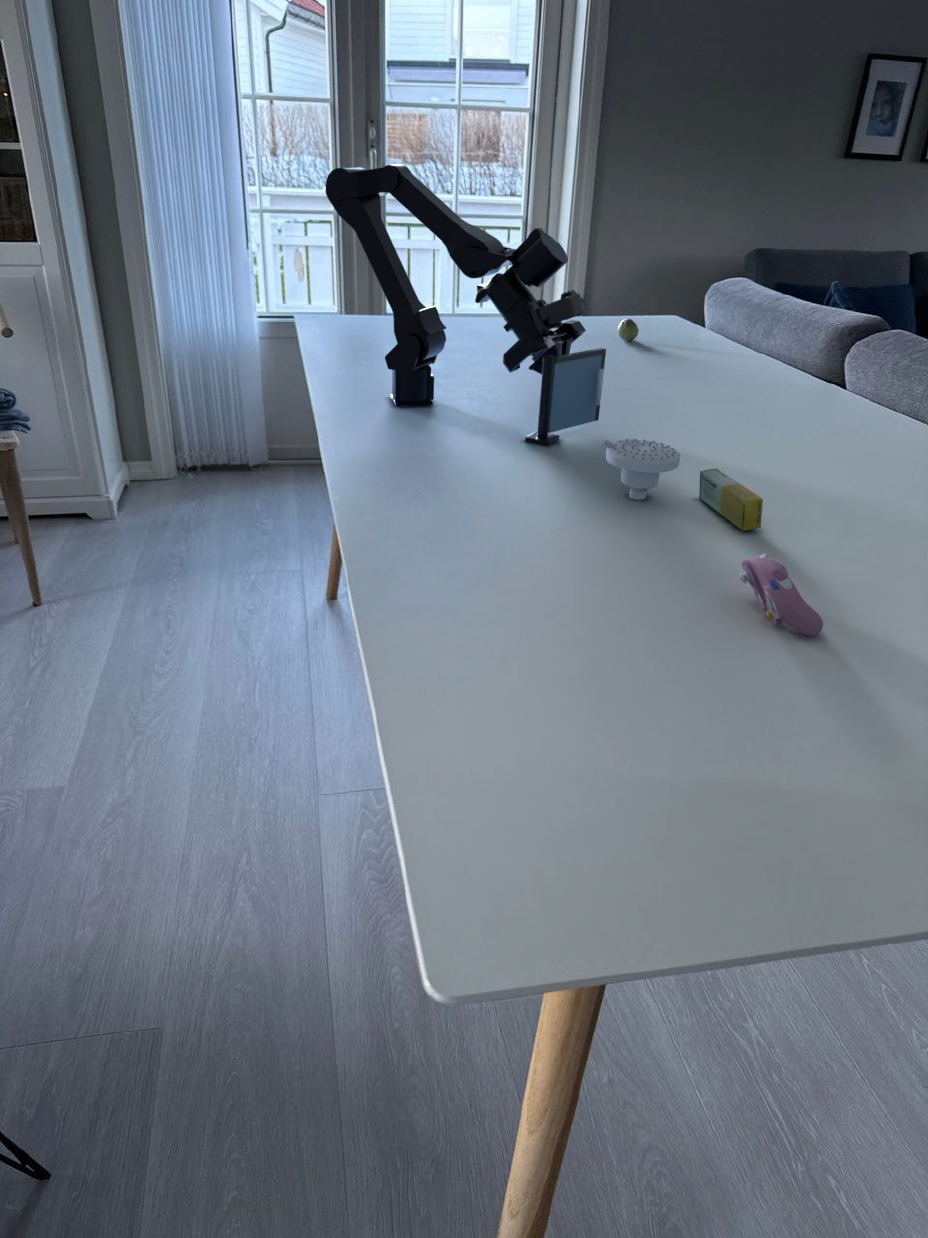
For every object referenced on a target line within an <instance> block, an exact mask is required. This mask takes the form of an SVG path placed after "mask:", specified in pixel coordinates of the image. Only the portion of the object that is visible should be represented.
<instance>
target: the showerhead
mask: <svg viewBox="0 0 928 1238" xmlns="http://www.w3.org/2000/svg"><path fill="white" fill-rule="evenodd" d="M602 445H604V446H605V447H606V452H605V459H606V461H607V463H608V464H610V465H612V466H613V467H615V468H618V469H621V475H620V481H621V483H622V484H624V486H626V487H628V488H629V492H628V493H629V494H628V498H630V499H633V500H635V501H642V500H645V499H646V497H647V491H648V490H649V489H653V488H656V487H657V486H658V485H659V480H660V474H662V473H666V472H667V473H668V472H672V471H674V470H676V469H677V468H678V467H679V465H680V460H681V452H680V451H678V450H677V449H676V448H674V447H672V446H671V445H670V444H664V442H656V441H655V440H652V441H650V440H647V439H642V440H641V439H640V440H639V439H637V438H634V439H630V440H629V439H628V438H627V439H625V440H618V441H615V442H612V441H610V440H608V439H605V440H604V441H603V442H602Z"/></svg>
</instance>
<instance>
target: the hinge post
mask: <svg viewBox="0 0 928 1238" xmlns="http://www.w3.org/2000/svg"><path fill="white" fill-rule="evenodd" d="M553 366H554V356H553V355H544V356H543V369H542V374H541V384H540V395H539V410H538V423H537V430H536V431H533V432H532V433H530V434H529V435H527V436H525V437H524V442H525V443H529V444H534V445H538V446H543V447H546V448H547V447H548V448H549V447H550V446H552V445H554V444H556V443H557V442H559V441H560V435H558V434H553V433H548V427H549V414H550V402H551V390H552V378H553Z"/></svg>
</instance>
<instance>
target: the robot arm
mask: <svg viewBox="0 0 928 1238" xmlns="http://www.w3.org/2000/svg"><path fill="white" fill-rule="evenodd" d="M324 192H325V195H326V198H327V201H329V203H330V204H331V206H332V207H333V209H334V211H335V212H336V214H337V215H338V216H339V217H340V218H341V219H342V220H343V221H344V222H345V223H346V224H347V225H348V226H349V227H350V228H351V229H353V231H354V233H355V234H356V237H357V240H358V241H359V243H360V245H361V248H362V249H363V251H364V253H365V256H366V259H367V260H368V262H369V264H370V267H371V269H372V271H373V273H374V276H375V277H376V279H377V281H378V284H379V285H380V288H381V290H382V293H383V294H384V297H385V298H386V301H387V303H388V306H389V307H390V310H391V311H392V315H393V317H392V318H393V333H394V337H395V341H396V344H395V346H394V347H393V348H392V349H391V350H389V352H388V353H387V354H386V355H385V356H384V360H385V364H386V367H387V369H388V370H391V394H390V395H389V398H390V400H391V401H392V403H393V404H394V406H395V407H399V408H402V407H404V408H405V407H406V408H407V407H433V406H434V401H433V400H434V399H435V376H434V375H433V374H432V367H431V366H430V365H434V364H435V363H436V361H437V357H438V355H439V354H440V353H442V352H443V350H444V349H445V346H446V342H447V335H446V332H445V330H446V329H447V326H446V325H445V324H444V323H443V322H442V320H441V317H440V314H439V311H438V308H437V306H436V305H433V306H429V307H426V306H425V305H424V304H423V303H422V302H421V300H420V299H419V297H418V295H417V293H416V291H415V288H414V286H413V284H412V282H411V280H410V278H409V275H408V273H407V271H406V270H405V269H406V268H405V267H404V265H403V262H402V260H401V258H400V256H399V254H398V252H397V249H396V247H395V245H394V243H393V241H392V239H391V237H390V234H389V232H388V231H387V228H386V226H385V224H384V221H383V219H382V209H381V208H382V206H381V205H382V204H381V203H382V202H381V201H382V200H381V196H385V195H391V196H392V197H393V198H394V199H395V200H396V201H398V203H399V204H401V205H402V206H403V207H404V208H405V209H406V210H407V211H408V212H409V213H410V214H412V215H413V216H414V217H415V218H416V219H417V220H418V221H419V222H420V223H422V225H424V226H425V227H426V228H427V229H428V230H429V231H430V232H431V233H432V234H434V236H436V237H437V239H439V240H440V241H441V242H442V244H443V245H444V247H445V248H446V251H447V253H448V255H449V257H450V259H451V260H452V262H454V264H455V265H456V267H457V268H458V269H459V270H460V272H461V273H462V274H463V275H464V276H465V277H467V278H469V279H480V278H485V277H489V276H492V275H493V276H492V277H491V278H490V280H488V282H486V283H480V284H477V285H476V294H475V297H474V303H476V304H482V303H487V302H489V301H490V302H491V303H492V304H493V306H494V307H495V309H496V310H497V312H498V313H499V314H500V316H501V317H502V318H503V320H504V322H505V324H504V325H503V329H504V330H505V332H506V333H508V332H511V331H512V333H513V334H514V335H515V337H516V338H517V341H516V342H515V343H514V344H513V345H512V346H511V347H509V349H507V350H506V351H505V352H504V353H503V356H502V364H503V366H504V367H505V368H506V370H507V371H508V372H509V373H511V374H512V373H513V372H515V371H516V372H517V371H518V370H519V369H520V368H521V364H522V363H523V362H524V361H525V360H526V359H528V358H529V357H532V358H531V360H532V363H531V364H530V366H528V370H529V371H534V372H535V373H538V374H539V375H542V369H543V356H544V355H553V356H554V357H555V356H560V355H566V354H571V347H572V344H573V343H574V342H575V341H577V340H578V339H579V338H580V337H581V336H582V335H583V334H584V333H586V331H587V330H586V328H585V327H584V326H583V324H582V323H581V321H580V320H574V319H573V318H575V317H580V316H582V315H585V312H584V309H583V308H584V307H583V305H584V304H585V299H584V298H583V297H582V296H581V294H580V293H578V292H576V291H575V289H570V290H568V291H566V292H563V293H561V294H560V299H557V300H555V301H552V302H550V303H547V302H546V300H544V299H541V298H540V299H536V297H535V296H534V295H533V293H532V292H531V290H530V288H532V287H535V288H542V287H543V286H544V285H545V284H546V283H547V282H548V281H549V280H550V279H551V278H552V277H553V276H555V274H556V273H558V272H559V271H560V270H561V269H562V268H563V267H564V266H565V265H566V264H567V263H568V262H569V258H568V254H567V253H566V251H565V249H564V248H563V246H562V244H560V242H558V241H557V240H555V239H554V238H553V237H552V236H551V235H549V234H548V233H546V232H545V231H544V229H543V228H542V227H535V228H534V229H533V230H532V231H531V232H530V233H529V234H528V236H527V237H526V239H525V240H524V241H523V242H522V243H521V244H520V245H519V246H518V247H517V248H512V247H508V246H504V245H503V244H502V242H501V240H499V239H498V238H497V237H495V236H494V235H492V234H490V233H489V232H487V231H486V230H484V229H482V228H480V227H477V226H475V225H473V224H471V223H469V222H467V221H466V220H464V219H462V218H461V217H460V216H459V215H458V214H457V213H456V212H455V211H454V210H453V209H451V208H450V207H449V206H448V205H447V204H446V203H445V202H444V201H443V200H441V198H439V197H438V196H437V195H436V194H435V193H434V192H433V191H432V190H431V189H430V188H428V187H427V186H426V185H425V184H424V183H423V182H422V181H421V180H420V179H418V178H417V177H416V176H415V175H414V174H413V173H412V171H411V170H410V168H409V167H408V166H406V165H404V164H386V165H384V166H383V167H377V168H371V169H370V168H369V169H366V168H363V167H336V168H334V169H332V170H331V171H330V172H329V173H328V175H327V177H326V181H325V185H324ZM509 266H510V267H509ZM505 267H509V268H507V270H506V271H505V272H503V273H501V272H499V271H500V270H501V269H503V268H505ZM570 319H571V320H570ZM567 320H569V321H567ZM563 321H565V322H563Z"/></svg>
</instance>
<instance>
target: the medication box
mask: <svg viewBox="0 0 928 1238" xmlns="http://www.w3.org/2000/svg"><path fill="white" fill-rule="evenodd" d="M698 498H699V500H701V501H703V502H704V503H705V504H707V505H708V506H710V507H711V508H712V509H713V510H715V511H716V512H717V513H719V514H720V515H721V516H723V517H724V518H725V519H726V520H727V521H729V522H731V524H733V525H734V526H736V527H737V528H738V529H739V530H740V531H742V532H745V531H751V530H757V529H761V528H762V516H763V503H764V499H763V498H762V497H761V496H759V495H757V494H756V493H755V492H753V491H752V490H750V489H749V488H747V487H745V486H744V485H743V484H741V483H739V482H738V481H737V480H736V479H733V478H732V477H731V476H730V475H728V474H726V473H724V472H723V471H721V470H720V469H719V468H710V469H705V470H702V471H700V472H699V491H698Z"/></svg>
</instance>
